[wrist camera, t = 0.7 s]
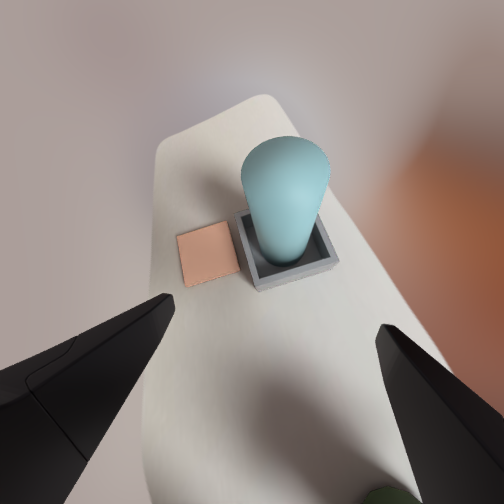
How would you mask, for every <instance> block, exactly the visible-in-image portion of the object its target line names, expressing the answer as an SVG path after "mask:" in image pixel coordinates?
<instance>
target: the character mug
mask: <svg viewBox="0 0 504 504" xmlns="http://www.w3.org/2000/svg"><path fill="white" fill-rule="evenodd" d="M362 504H422V503H421V502H420V501H419V500H418V499H416V498H415V497H414V496H413V495H411V494H410V493H409V492H406V491H402V490H399V489H396V488H392V487H389V486H386V487H383V488H380V489H377V490H374V491H371V492H370V493H369V494H368V496H367V497H366V499H365V500H364V502H363V503H362Z"/></svg>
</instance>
